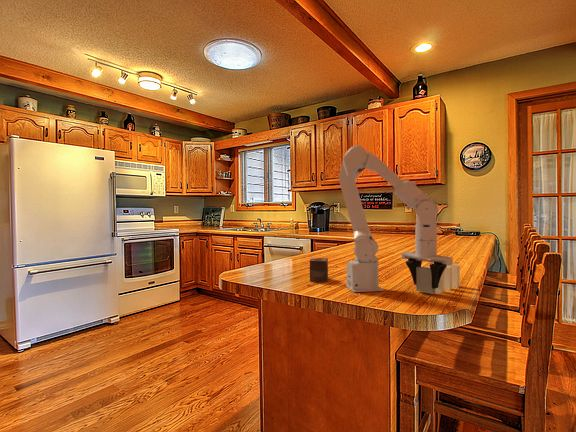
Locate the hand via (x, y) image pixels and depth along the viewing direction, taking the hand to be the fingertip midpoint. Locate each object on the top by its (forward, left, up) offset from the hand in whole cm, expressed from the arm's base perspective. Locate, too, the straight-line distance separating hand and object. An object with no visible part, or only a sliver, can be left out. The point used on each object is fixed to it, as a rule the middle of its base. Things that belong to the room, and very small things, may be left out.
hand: (425, 286), depth 92 cm
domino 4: (+13, +8, -2) cm, 15 cm away
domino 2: (+4, +3, -2) cm, 6 cm away
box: (-27, +22, -2) cm, 35 cm away
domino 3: (+9, +5, -2) cm, 10 cm away
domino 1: (0, 0, -2) cm, 2 cm away
